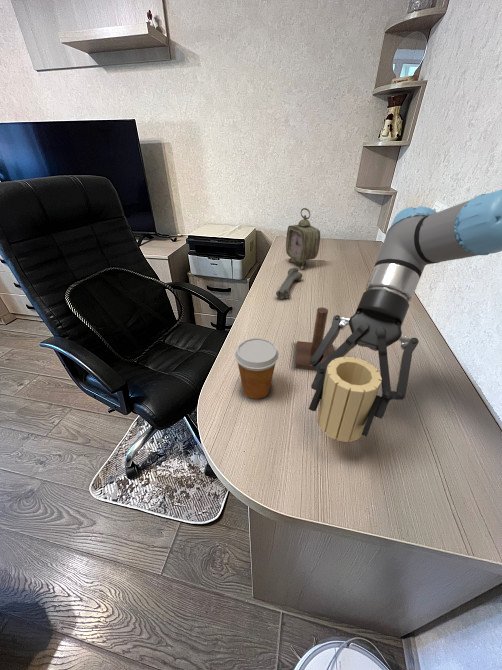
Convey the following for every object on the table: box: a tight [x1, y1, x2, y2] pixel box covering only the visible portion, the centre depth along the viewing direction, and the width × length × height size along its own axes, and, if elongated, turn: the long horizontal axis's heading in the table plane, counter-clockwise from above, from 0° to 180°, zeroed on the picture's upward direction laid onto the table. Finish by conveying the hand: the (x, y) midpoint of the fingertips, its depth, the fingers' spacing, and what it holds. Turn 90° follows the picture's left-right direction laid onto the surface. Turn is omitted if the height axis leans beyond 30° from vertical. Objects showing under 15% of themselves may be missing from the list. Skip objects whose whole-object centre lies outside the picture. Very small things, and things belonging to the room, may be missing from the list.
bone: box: [275, 267, 303, 300], centre depth 109 cm, size 22×6×6 cm, turn 159°
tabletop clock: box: [285, 207, 321, 270], centre depth 125 cm, size 14×9×25 cm, turn 25°
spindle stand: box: [295, 306, 335, 371], centre depth 71 cm, size 10×10×15 cm
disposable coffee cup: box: [234, 337, 280, 400], centre depth 62 cm, size 10×10×12 cm
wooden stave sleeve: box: [317, 355, 382, 443], centre depth 47 cm, size 8×8×12 cm
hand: (337, 421), depth 46 cm, fingers closed on wooden stave sleeve, 8 cm apart
